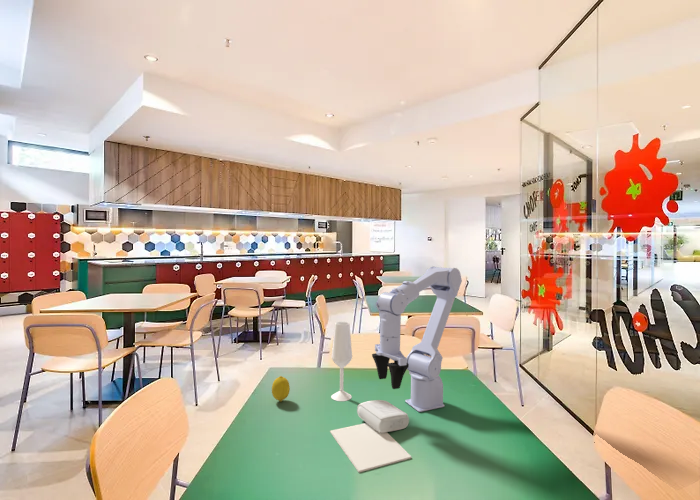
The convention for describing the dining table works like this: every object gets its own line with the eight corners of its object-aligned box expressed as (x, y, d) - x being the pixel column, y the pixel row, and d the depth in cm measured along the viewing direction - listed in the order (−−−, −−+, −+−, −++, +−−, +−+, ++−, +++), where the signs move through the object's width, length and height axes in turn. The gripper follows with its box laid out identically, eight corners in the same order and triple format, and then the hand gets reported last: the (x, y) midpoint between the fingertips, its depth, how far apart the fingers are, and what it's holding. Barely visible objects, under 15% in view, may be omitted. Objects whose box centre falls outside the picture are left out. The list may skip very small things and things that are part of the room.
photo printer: (408, 429, 96) (381, 410, 107) (410, 413, 97) (382, 396, 107) (378, 435, 91) (352, 415, 102) (380, 418, 91) (354, 400, 102)
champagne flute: (353, 393, 119) (354, 321, 118) (349, 402, 112) (350, 326, 112) (333, 391, 120) (334, 320, 119) (329, 400, 113) (329, 325, 113)
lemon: (268, 403, 110) (268, 378, 110) (278, 396, 116) (278, 372, 115) (283, 406, 108) (283, 380, 108) (292, 399, 113) (293, 374, 113)
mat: (375, 422, 99) (375, 420, 99) (411, 458, 83) (411, 456, 83) (330, 432, 94) (330, 430, 94) (358, 472, 78) (358, 470, 78)
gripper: (366, 330, 106) (365, 376, 106) (390, 343, 92) (389, 395, 93) (386, 328, 109) (385, 373, 109) (413, 340, 95) (412, 391, 95)
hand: (389, 383), depth 101 cm, fingers open, 7 cm apart
